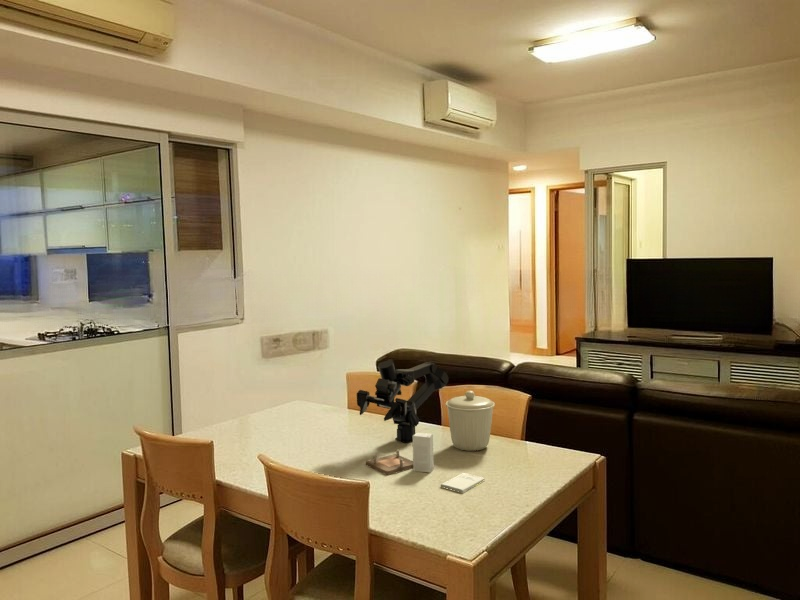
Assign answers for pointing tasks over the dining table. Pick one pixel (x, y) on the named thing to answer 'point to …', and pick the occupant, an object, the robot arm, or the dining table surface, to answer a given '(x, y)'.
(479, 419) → the canister
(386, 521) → the dining table surface
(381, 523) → the dining table surface
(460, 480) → the external hard drive
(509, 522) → the dining table surface
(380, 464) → the pin nest board
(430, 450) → the skincare box
